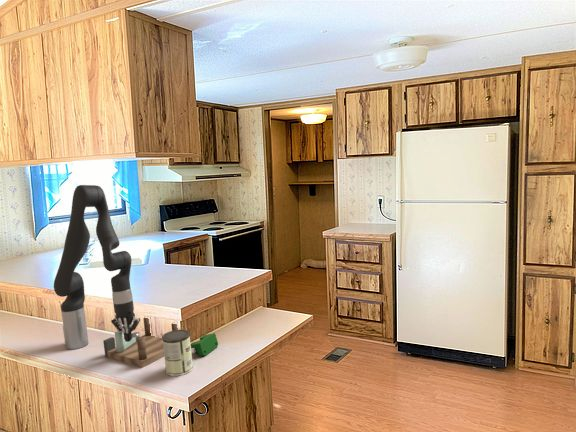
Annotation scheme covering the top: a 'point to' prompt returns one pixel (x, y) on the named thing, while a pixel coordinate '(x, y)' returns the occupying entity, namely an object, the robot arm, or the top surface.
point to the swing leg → (123, 345)
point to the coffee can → (177, 352)
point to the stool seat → (138, 348)
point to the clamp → (205, 344)
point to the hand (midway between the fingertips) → (128, 340)
